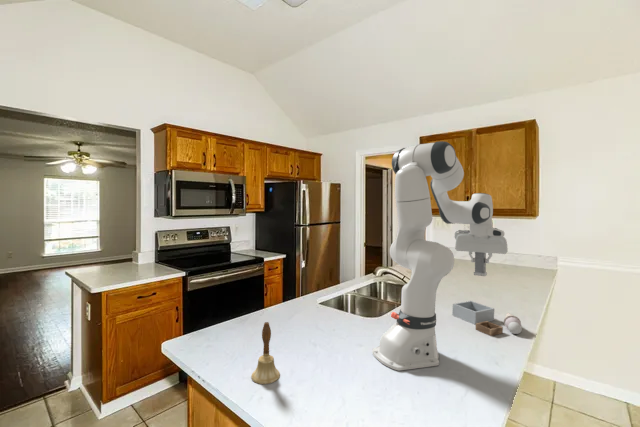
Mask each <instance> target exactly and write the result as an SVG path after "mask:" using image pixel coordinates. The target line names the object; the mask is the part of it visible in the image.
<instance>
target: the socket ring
mask: <svg viewBox="0 0 640 427" xmlns="http://www.w3.org/2000/svg"><path fill="white" fill-rule="evenodd" d="M503 330H504V326H501V325H498V324H496V323H493V322H492V321H489V322H488V321H485V322H480V323H476V325H475V331H477V332H480V333H482V334H486V335H488V336H490V337H493V336H498V335H501V334H502V335H503V333H504V332H503Z"/></svg>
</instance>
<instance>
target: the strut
mask: <svg viewBox="0 0 640 427" xmlns="http://www.w3.org/2000/svg"><path fill="white" fill-rule="evenodd" d="M474 258H475V262H474V271H473V275H474V276H478V277H479V276H481V277H486V276H488V275H487V274H488V273H487V271H486V270H487V267H486V266H487V263H485V259H487V253H482V252H474Z"/></svg>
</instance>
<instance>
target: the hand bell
mask: <svg viewBox="0 0 640 427" xmlns="http://www.w3.org/2000/svg"><path fill="white" fill-rule="evenodd" d="M271 337H272V330H271V326H270V322H269V321H266V322H264V323H263V327H262V330H261V338H262V343H263V350H262V351H263V355H261V356H259V357H258V360H257V361H258V362H257V366H256V368H255V370H254V371H253V372H252V373H251V376H250V377H251V380H252V382H254V383H256V384H259V385H269V384H273V383H275V382H277V381H278V380H279V379H280V377H281V373H280V371H279V370H278V369H277V368H276V365H275V359H274V356H273V355H271V354H270V341H271Z"/></svg>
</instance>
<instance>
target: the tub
mask: <svg viewBox="0 0 640 427" xmlns="http://www.w3.org/2000/svg"><path fill="white" fill-rule="evenodd" d="M451 315H452V316H453V317H456V318H458V319H461V320H462V321H466V322H468V323H470V324H472V325H475V326H476V323H480V322H485V321H488V322H493V321H495V308H493V307H491V306H487V305H485V304H481V303H479V302H476V301H473V300H468V301H461V302H457V303H456V302H455V303H452V314H451Z"/></svg>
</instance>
